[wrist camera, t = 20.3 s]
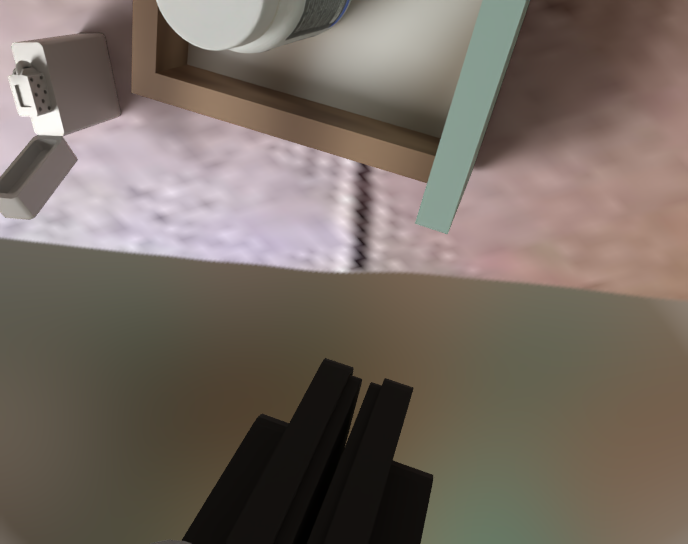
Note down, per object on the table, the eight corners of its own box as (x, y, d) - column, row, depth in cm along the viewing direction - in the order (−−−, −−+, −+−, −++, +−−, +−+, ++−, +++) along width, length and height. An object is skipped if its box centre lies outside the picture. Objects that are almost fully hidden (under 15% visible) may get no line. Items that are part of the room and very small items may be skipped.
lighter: (75, 33, 30) (-64, 53, 23) (104, 32, 30) (-30, 52, 23) (106, 169, 33) (-9, 221, 26) (133, 171, 33) (23, 224, 26)
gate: (548, -162, 21) (547, -213, 15) (582, -155, 21) (594, -204, 15) (445, 166, 27) (414, 223, 21) (470, 174, 27) (447, 234, 21)
